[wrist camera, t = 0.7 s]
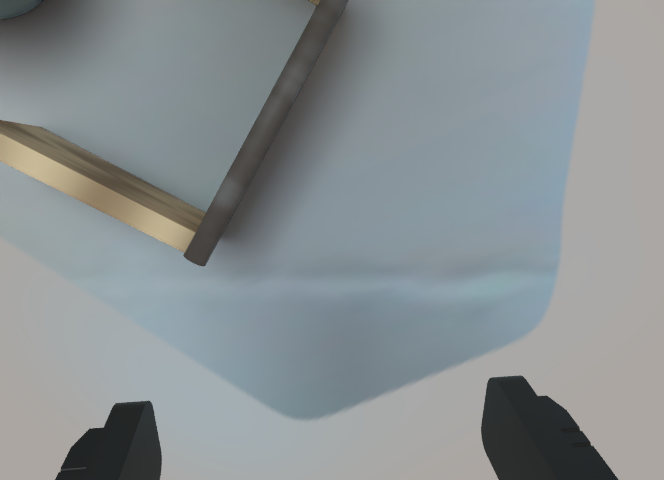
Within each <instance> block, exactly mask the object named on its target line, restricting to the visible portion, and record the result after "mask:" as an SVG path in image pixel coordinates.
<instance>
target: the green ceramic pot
mask: <svg viewBox="0 0 664 480" xmlns="http://www.w3.org/2000/svg"><path fill="white" fill-rule="evenodd" d="M42 1H43V0H0V19H6V18H12V17H16V16H19V15H21V14H24V13H27V12H28V11H30V10H32V9H33V8H35V7H36V6H37V5H39V4H40V3H41V2H42Z"/></svg>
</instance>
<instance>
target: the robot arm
mask: <svg viewBox="0 0 664 480" xmlns="http://www.w3.org/2000/svg"><path fill="white" fill-rule="evenodd" d="M481 433H482V441H483V445H484V449H485V452H486V454H487V456H488V458H489V460H490V462H491V464H492V466H493V468H494V471H495V473H496V475H497V477H498V479H499V480H618V478H617V477H616V476H615V474H614V473H613V472H612V470H611V469H610V468H609V467H608V465H607V464H606V462H605V461H604V460H603V458H602V457H601V456H600V454H599V453H598V452H597V450H596V449H595V448H594V447H593V446H591V444H590V441H589V440H588V438H587V437H586V436H585V435H584V433H583V432H582V431H580V429H579V426H578V425H577V424H576V422H575V421H574V420H573V418H572V417H571V416H570V414H569V413H568V412H567V410H565V409H564V408H563V407H561V406H560V405H559V404H557V403H556V402H555V401H553V400H552V399H551V398H549V397H548V396H537V395H536V393H535V392H534V391H533V389H532V388H531V386H530V385H529V383H528V382H527V381H526V379H525V378H524V377H523V376H507V377H494V378H490V379H489V380H488V383H487V389H486V397H485V404H484V411H483V418H482V426H481ZM161 457H162V456H161V448H160V442H159V437H158V432H157V426H156V422H155V416H154V410H153V406H152V403H151V402H150V401H141V402H127V403H116V404H115V405H114V406H113V408H112V410H111V412H110V415H109V417H108V419H107V421H106V424H105V426H104V428H93V429H89V430H88V431H87V432H86V433H85V434H84V435H83V436H82V437H81V438H80V439H79V440H78V441H77V442H76V443H75V444H74V445H73V446H72V447H71V449H70V451H69V453H68V455H67V457H66V459H65V461H64V463H63V465H62V467H61V472H59V473H58V475H57V477H56V479H55V480H160V475H161V464H162V463H161V461H162V458H161Z"/></svg>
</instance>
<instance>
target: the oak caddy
mask: <svg viewBox="0 0 664 480" xmlns="http://www.w3.org/2000/svg"><path fill="white" fill-rule="evenodd" d="M309 1H310V2H312V3H314V4H315V5H317V7H316V9H315V11H314V13H313V15H312V17H311V19H310V20H309V22H308V24H307V26H306V28H305V30H304V32H303V33H302V35H301V37H300V39H299V41H298V43H297V45H296V47H295V48H294V50H293V52H292V54H291V56H290V58H289V60H288V61H287V63H286V65H285V67H284V69H283V71H282V73H281V74H280V76H279V78H278V80H277V82H276V84H275V86H274V87H273V89H272V91H271V93H270V95H269V97H268V99H267V101H266V102H265V104H264V106H263V108H262V110H261V112H260V114H259V115H258V117H257V119H256V121H255V123H254V125H253V127H252V128H251V130H250V132H249V134H248V136H247V138H246V140H245V141H244V143H243V145H242V147H241V149H240V151H239V153H238V155H237V156H236V158H235V160H234V162H233V164H232V166H231V168H230V169H229V171H228V173H227V175H226V177H225V179H224V181H223V182H222V184H221V186H220V188H219V190H218V192H217V194H216V195H215V197H214V199H213V201H212V203H211V205H210V207H209V208H208V210H207V212H206V213H205V212H203V211H201V210H199V209H197V208H195V207H193V206H191V205H189V204H188V203H186V202H184V201H182V200H180V199H178V198H176V197H174V196H172V195H170V194H168V193H166V192H164V191H163V190H161V189H159V188H157V187H155V186H153V185H151V184H149V183H147V182H145V181H143V180H141V179H140V178H138V177H136V176H134V175H132V174H130V173H128V172H126V171H124V170H122V169H120V168H118V167H116V166H115V165H113V164H111V163H109V162H107V161H105V160H103V159H101V158H99V157H97V156H95V155H93V154H92V153H90V152H88V151H86V150H84V149H82V148H80V147H78V146H76V145H74V144H72V143H70V142H68V141H67V140H65V139H63V138H61V137H59V136H57V135H55V134H53V133H51V132H49V131H47V130H45V129H43V128H42V127H38V126H32V125H26V124H20V123H14V122H8V121H2V120H0V161H1V162H3V163H5V164H7V165H9V166H11V167H13V168H15V169H17V170H19V171H21V172H23V173H25V174H27V175H29V176H31V177H34V178H36V179H38V180H40V181H42V182H44V183H46V184H48V185H50V186H52V187H54V188H56V189H58V190H60V191H62V192H64V193H66V194H68V195H70V196H72V197H74V198H76V199H78V200H80V201H82V202H84V203H86V204H88V205H90V206H92V207H94V208H96V209H98V210H100V211H102V212H104V213H106V214H108V215H110V216H112V217H114V218H116V219H118V220H120V221H122V222H124V223H126V224H128V225H130V226H132V227H134V228H136V229H138V230H140V231H142V232H144V233H146V234H148V235H150V236H152V237H154V238H156V239H158V240H160V241H162V242H164V243H166V244H168V245H170V246H172V247H174V248H176V249H178V250H180V251H182V252H184V255H183V256H184V257H185V258H186V259H188V260H189V261H191V262H193V263H195V264H197V265H200V266H205V265H206V263H207V261H208V259H209V257H210V255H211V254H212V252H213V250H214V248H215V246H216V244H217V243H218V241H219V239H220V237H221V235H222V233H223V231H224V230H225V228H226V226H227V224H228V222H229V220H230V219H231V217H232V215H233V213H234V211H235V209H236V207H237V206H238V204H239V202H240V200H241V198H242V196H243V194H244V193H245V191H246V189H247V187H248V185H249V183H250V182H251V180H252V178H253V176H254V174H255V172H256V170H257V169H258V167H259V165H260V163H261V161H262V159H263V157H264V156H265V154H266V152H267V150H268V148H269V146H270V145H271V143H272V141H273V139H274V137H275V135H276V133H277V132H278V130H279V128H280V126H281V124H282V122H283V120H284V119H285V117H286V115H287V113H288V111H289V109H290V108H291V106H292V104H293V102H294V100H295V98H296V96H297V95H298V93H299V91H300V89H301V87H302V85H303V84H304V82H305V80H306V78H307V76H308V74H309V72H310V71H311V69H312V67H313V65H314V63H315V61H316V59H317V58H318V56H319V54H320V52H321V50H322V48H323V47H324V45H325V43H326V41H327V39H328V37H329V35H330V34H331V32H332V30H333V28H334V26H335V24H336V22H337V21H338V19H339V17H340V15H341V13H342V11H343V10H344V8H345V6H346V4H347V2H348V0H309Z"/></svg>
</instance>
